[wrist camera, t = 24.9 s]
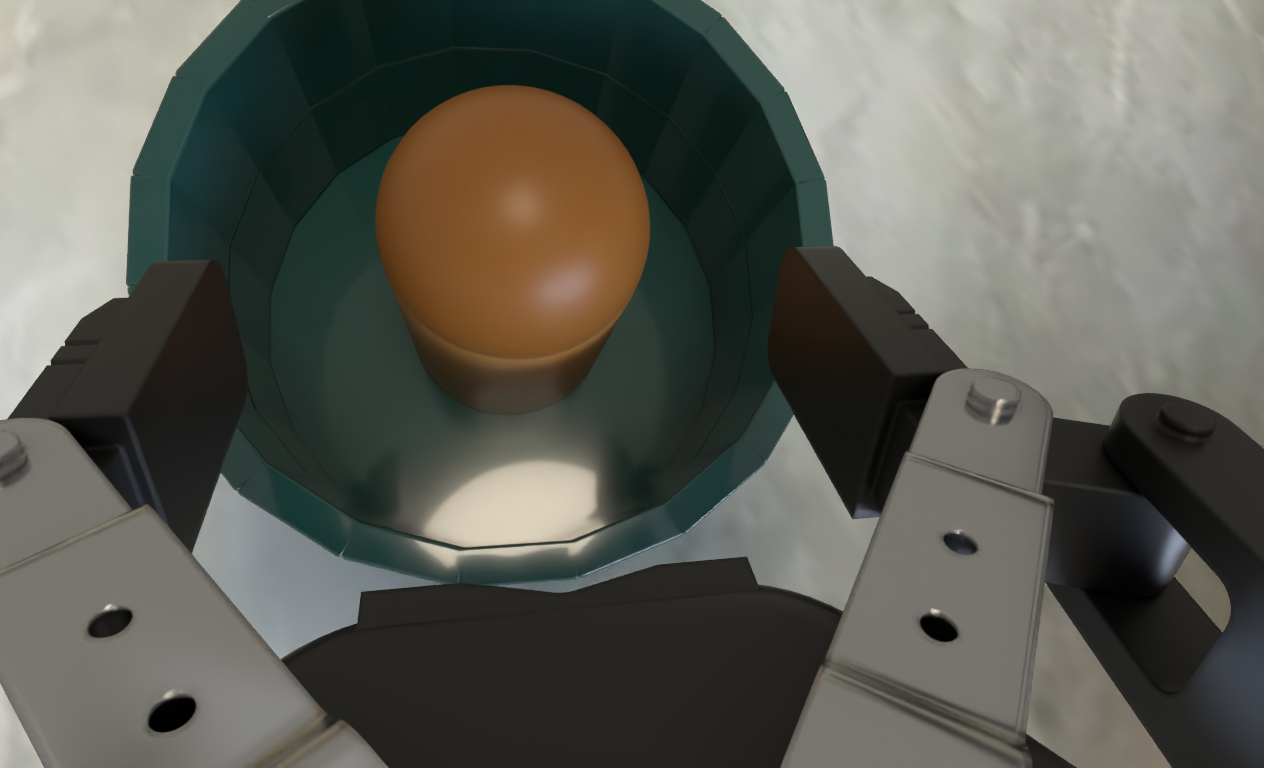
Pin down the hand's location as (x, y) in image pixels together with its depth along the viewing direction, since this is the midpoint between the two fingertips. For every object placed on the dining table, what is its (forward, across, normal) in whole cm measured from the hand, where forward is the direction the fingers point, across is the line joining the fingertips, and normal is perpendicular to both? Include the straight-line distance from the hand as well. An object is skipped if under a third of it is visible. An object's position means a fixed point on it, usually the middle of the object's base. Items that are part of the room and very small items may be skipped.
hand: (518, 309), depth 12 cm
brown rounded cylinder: (+9, 0, +6) cm, 11 cm away
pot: (+10, 0, +6) cm, 11 cm away
